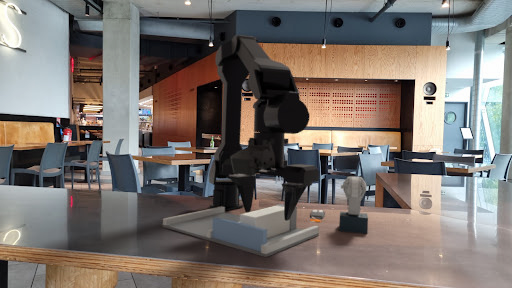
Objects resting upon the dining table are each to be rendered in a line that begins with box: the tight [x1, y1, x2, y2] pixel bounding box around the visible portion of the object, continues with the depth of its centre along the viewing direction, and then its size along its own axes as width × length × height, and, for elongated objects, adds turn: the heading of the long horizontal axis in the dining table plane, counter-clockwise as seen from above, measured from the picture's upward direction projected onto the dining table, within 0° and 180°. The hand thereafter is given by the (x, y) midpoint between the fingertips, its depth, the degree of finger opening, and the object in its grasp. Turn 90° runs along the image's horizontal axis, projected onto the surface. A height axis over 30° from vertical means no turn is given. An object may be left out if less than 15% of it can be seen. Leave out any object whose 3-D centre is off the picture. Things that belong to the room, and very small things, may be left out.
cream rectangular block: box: [239, 203, 298, 238], centre depth 71 cm, size 13×4×4 cm, turn 142°
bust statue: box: [338, 175, 369, 234], centre depth 78 cm, size 6×8×11 cm
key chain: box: [310, 209, 326, 223], centre depth 86 cm, size 13×4×2 cm, turn 167°
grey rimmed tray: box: [162, 206, 320, 258], centre depth 74 cm, size 17×26×4 cm, turn 51°
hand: (266, 215), depth 71 cm, fingers open, 9 cm apart
